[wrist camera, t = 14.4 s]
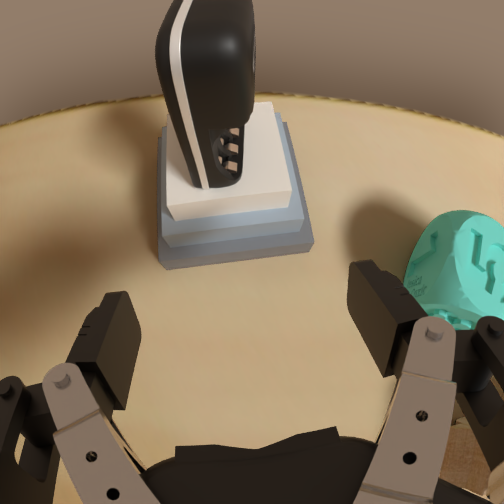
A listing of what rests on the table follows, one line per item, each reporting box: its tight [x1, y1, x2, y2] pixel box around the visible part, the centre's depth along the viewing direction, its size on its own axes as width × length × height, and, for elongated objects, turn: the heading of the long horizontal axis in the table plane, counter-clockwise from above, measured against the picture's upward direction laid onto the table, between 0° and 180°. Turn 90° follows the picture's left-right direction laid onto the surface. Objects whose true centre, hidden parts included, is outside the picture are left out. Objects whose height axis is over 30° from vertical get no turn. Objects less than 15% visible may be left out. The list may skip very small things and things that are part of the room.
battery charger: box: [155, 0, 256, 190], centre depth 15 cm, size 7×4×11 cm, turn 179°
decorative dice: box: [403, 210, 504, 330], centre depth 22 cm, size 8×8×8 cm
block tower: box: [157, 102, 314, 270], centre depth 24 cm, size 12×12×8 cm
